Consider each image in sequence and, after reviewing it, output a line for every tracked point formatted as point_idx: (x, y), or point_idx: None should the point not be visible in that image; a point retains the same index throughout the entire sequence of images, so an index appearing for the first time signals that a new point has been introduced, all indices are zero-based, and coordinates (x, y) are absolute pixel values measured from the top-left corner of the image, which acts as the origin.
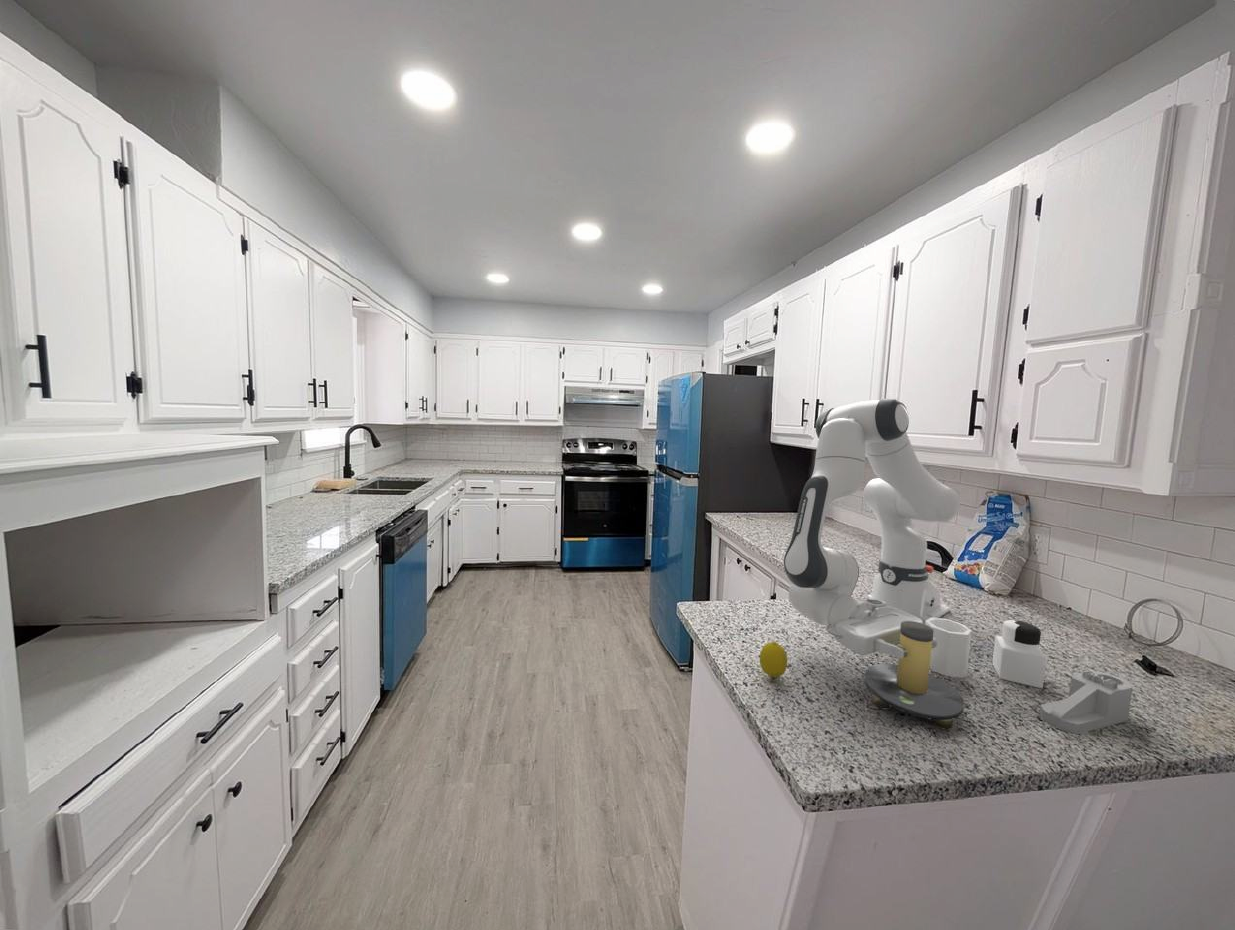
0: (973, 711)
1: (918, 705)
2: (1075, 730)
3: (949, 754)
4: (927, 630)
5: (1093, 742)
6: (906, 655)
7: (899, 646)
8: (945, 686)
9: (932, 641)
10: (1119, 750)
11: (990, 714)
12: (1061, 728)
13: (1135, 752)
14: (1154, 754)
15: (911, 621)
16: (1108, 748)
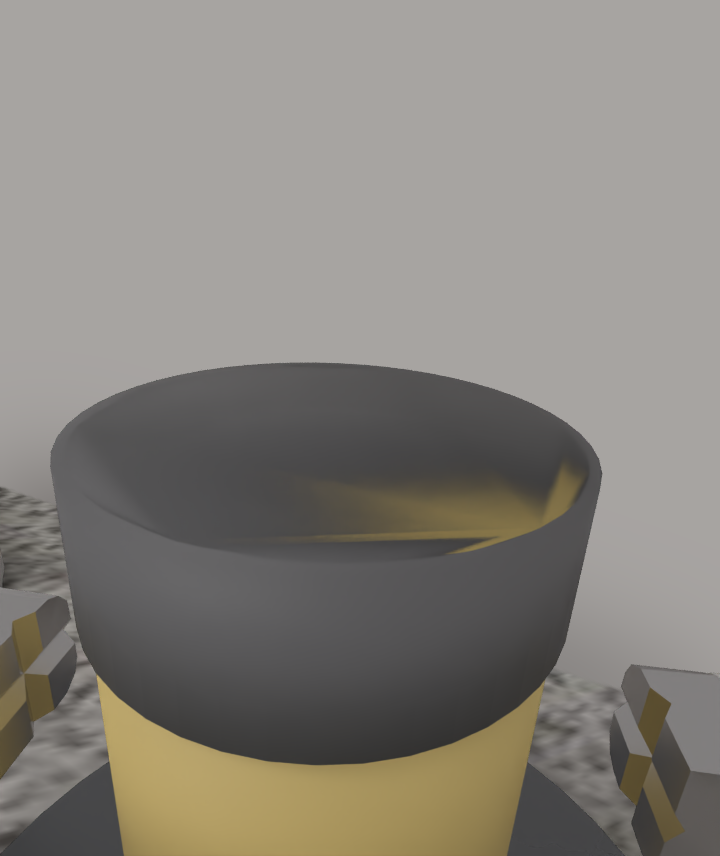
0: (51, 798)
1: (546, 845)
2: (2, 560)
3: (550, 742)
4: (323, 379)
5: (35, 545)
6: (622, 719)
7: (714, 729)
8: (77, 839)
9: (56, 598)
10: (41, 519)
11: (30, 741)
12: (1, 584)
13: (27, 505)
14: (10, 491)
15: (90, 493)
16: (48, 529)
